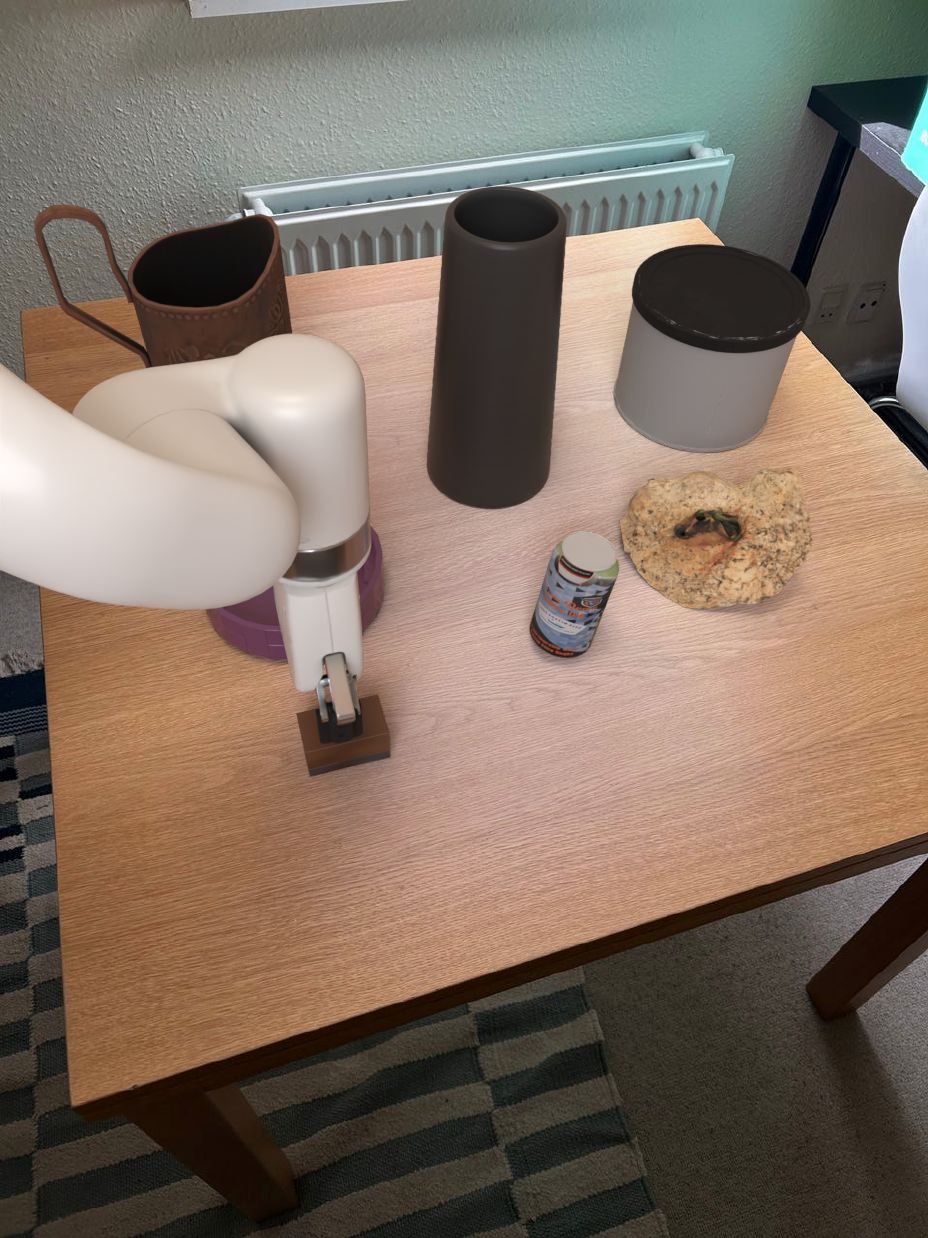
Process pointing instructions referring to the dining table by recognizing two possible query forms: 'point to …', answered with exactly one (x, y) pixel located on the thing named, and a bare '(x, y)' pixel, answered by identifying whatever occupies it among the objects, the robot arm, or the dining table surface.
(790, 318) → the container
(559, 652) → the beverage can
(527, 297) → the vase
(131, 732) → the dining table surface
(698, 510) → the beige rock
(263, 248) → the cup holder
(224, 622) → the bowl
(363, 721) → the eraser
